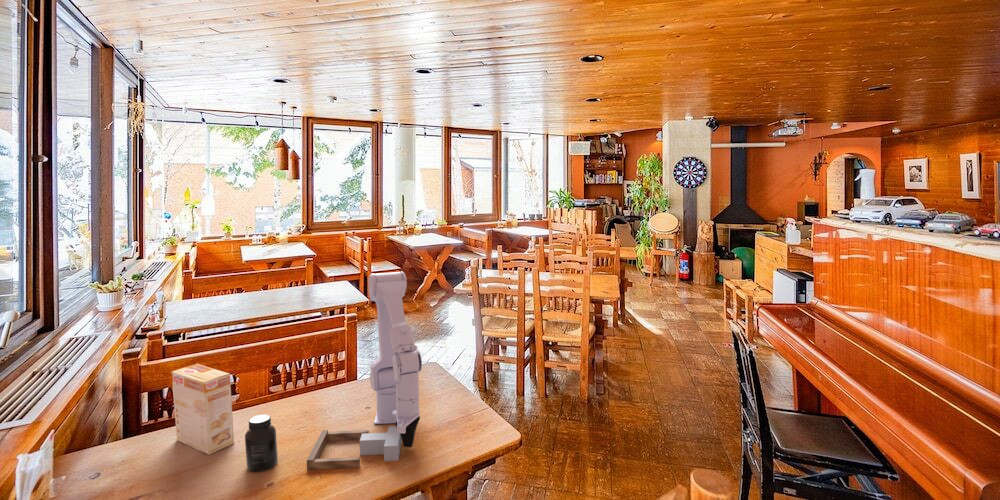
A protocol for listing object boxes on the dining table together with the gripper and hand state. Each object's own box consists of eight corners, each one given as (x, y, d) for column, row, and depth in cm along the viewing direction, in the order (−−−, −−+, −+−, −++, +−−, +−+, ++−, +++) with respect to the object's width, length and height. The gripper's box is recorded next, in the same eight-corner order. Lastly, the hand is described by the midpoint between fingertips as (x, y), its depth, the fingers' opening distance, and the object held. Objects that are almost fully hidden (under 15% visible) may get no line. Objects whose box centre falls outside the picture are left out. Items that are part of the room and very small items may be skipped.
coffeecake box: (235, 443, 127) (231, 373, 124) (208, 456, 121) (203, 382, 118) (202, 429, 134) (197, 362, 131) (175, 440, 128) (169, 371, 125)
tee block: (402, 439, 129) (402, 425, 129) (398, 460, 120) (398, 445, 119) (364, 441, 128) (364, 427, 128) (357, 462, 119) (357, 447, 118)
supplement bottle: (284, 460, 119) (281, 414, 118) (262, 475, 113) (259, 427, 111) (262, 454, 121) (260, 410, 120) (240, 469, 115) (237, 422, 114)
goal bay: (368, 436, 131) (368, 428, 130) (359, 467, 116) (358, 457, 116) (322, 438, 129) (322, 430, 129) (307, 469, 115) (306, 460, 115)
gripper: (399, 384, 130) (400, 431, 132) (384, 408, 116) (385, 460, 118) (424, 385, 130) (425, 431, 132) (412, 409, 116) (413, 461, 117)
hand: (408, 445), depth 125 cm, fingers closed
